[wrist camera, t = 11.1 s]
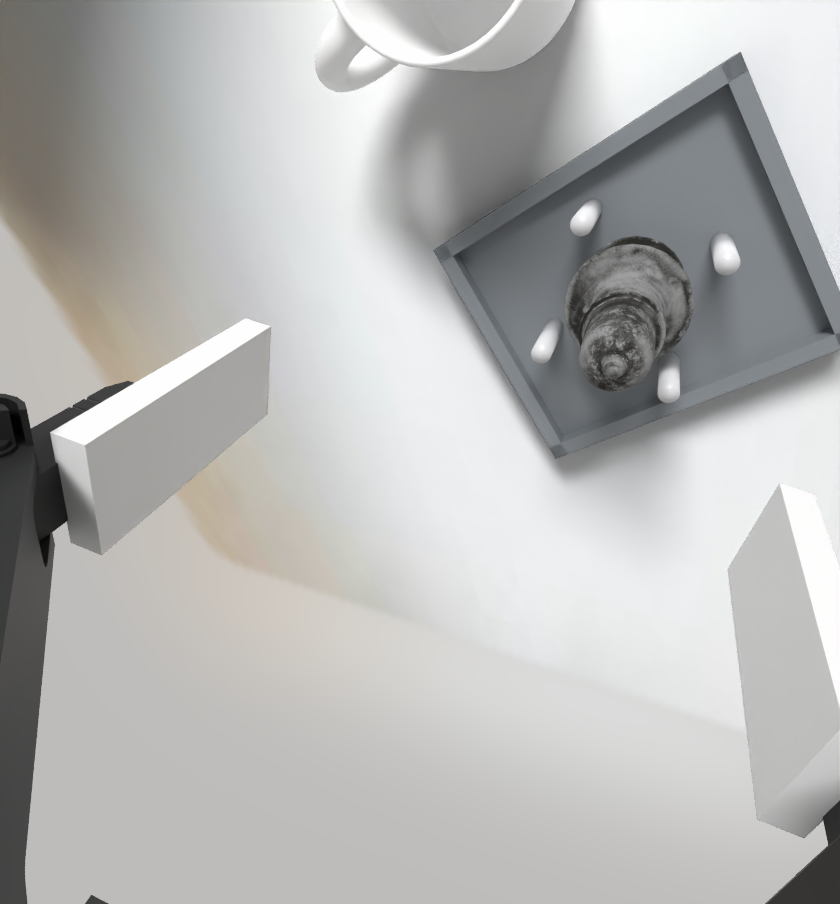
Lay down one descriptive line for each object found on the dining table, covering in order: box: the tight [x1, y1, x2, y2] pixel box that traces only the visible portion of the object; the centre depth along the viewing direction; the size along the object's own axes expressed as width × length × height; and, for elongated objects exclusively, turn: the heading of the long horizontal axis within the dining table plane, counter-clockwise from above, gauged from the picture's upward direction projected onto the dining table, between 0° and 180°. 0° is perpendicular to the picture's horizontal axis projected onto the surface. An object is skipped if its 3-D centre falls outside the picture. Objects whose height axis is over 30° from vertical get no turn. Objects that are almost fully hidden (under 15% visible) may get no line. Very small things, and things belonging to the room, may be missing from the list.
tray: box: [433, 52, 840, 458], centre depth 32 cm, size 14×16×6 cm
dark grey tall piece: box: [564, 236, 694, 392], centre depth 28 cm, size 6×6×12 cm
